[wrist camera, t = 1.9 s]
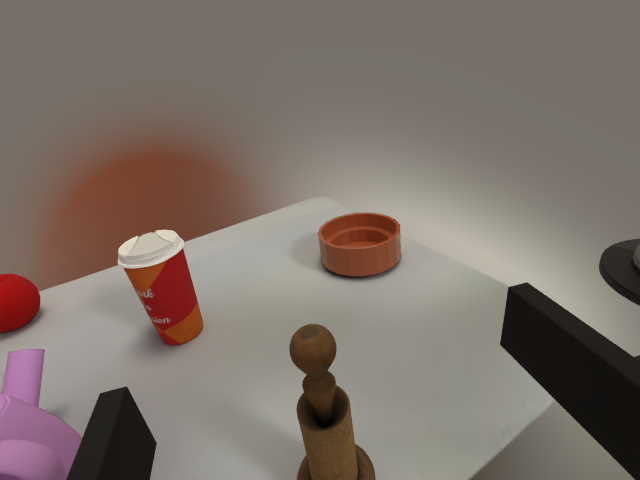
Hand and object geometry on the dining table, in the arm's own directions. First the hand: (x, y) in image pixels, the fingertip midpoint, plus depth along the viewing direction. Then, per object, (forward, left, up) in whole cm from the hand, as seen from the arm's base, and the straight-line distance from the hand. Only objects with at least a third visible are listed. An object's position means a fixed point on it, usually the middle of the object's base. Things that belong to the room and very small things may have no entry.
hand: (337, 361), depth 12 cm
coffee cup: (+39, -4, -24) cm, 46 cm away
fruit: (+65, +14, -24) cm, 71 cm away
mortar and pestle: (+7, -4, -24) cm, 26 cm away
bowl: (+31, -35, -24) cm, 53 cm away
